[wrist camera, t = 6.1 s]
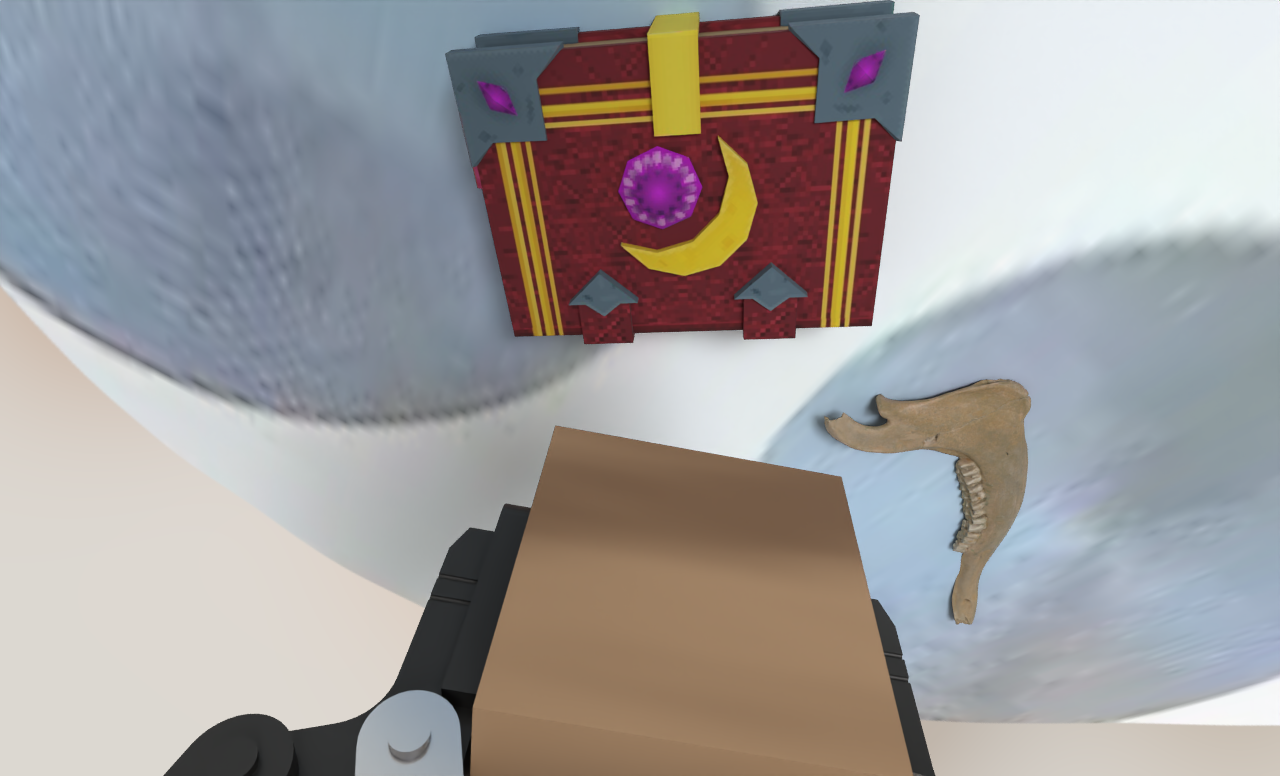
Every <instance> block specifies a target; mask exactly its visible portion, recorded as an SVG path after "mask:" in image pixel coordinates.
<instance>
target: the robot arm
mask: <svg viewBox="0 0 1280 776" xmlns="http://www.w3.org/2000/svg"><path fill="white" fill-rule="evenodd" d="M530 510H531V508H528V507H523V506H517V505H511V504H505V505H504V506H503V509H502V511H501V514H500V517H499V520H498V523H497V526H496V529H495V532H493V531H487V530H482V529H476V528H469V529H468V530H467V531H466V532H465V533H464V534H463V535H462V536H461V537H460V538H459V539H458V540H457V541H456V542H455V543H454V544H453V545H452V546H451V547H450V548H449V550H448V553H447V555H446V558H445V560H444V563H443V565H442V568H441V570H440V573H439V577H438V578H437V580H436V583H435V585H434V588H433V590H432V593H431V597H430V600H428V602H427V605H426V607H425V610H424V612H423V615H422V617H421V620H420V622H419V625H418V627H417V630H416V632H415V635H414V637H413V640H412V642H411V645H410V647H409V650H408V652H407V655H406V657H405V660H404V662H403V664H402V667H401V669H400V672H399V675H398V677H397V679H396V681H395V683H394V685H393V686H392V688H391V689H390V691H389V692H388V693H387V694H386V696H385V697H384V698H383V699H382V700H381V701H380V702H379V703H378V704H376V705H375V706H374V707H373V708H371V709H370V710H368V711H367V712H365V713H363V714H361V715H360V716H358V717H356V718H353V719H350V720H347V721H344V722H340V723H336V724H330V725H324V726H318V727H312V728H306V729H300V730H294V731H288V729H287V727H285V725H284V724H282V722H280V721H279V720H277V719H275V718H273V717H270V716H267V715H262V714H246V715H240V716H236V717H233V718H230V719H227V720H225V721H223V722H220V723H218V724H217V725H215V726H213V727H212V728H210V729H208V730H207V731H206V732H205V733H203V734H202V735H201V736H199V737H198V738H197V739H196V740H195V741H194V742H193V743H192V744H191V745H190V747H189V748H188V749H187V750H186V751H185V752H184V753H183V754H182V755H181V757H180V758H179V759H178V760H177V761H176V762H175V763H174V764H173V766H172V767H171V768H170V769H169V770H168V771H167V772H166V774H164V776H470V767H471V739H472V712H473V705H474V701H475V698H476V694H477V691H478V688H479V684H480V681H481V677H482V674H483V671H484V667H485V664H486V660H487V657H488V654H489V650H490V647H491V643H492V640H493V637H494V633H495V630H496V626H497V623H498V619H499V616H500V613H501V609H502V606H503V602H504V599H505V596H506V592H507V589H508V585H509V582H510V579H511V575H512V572H513V568H514V565H515V562H516V558H517V555H518V551H519V548H520V545H521V541H522V538H523V534H524V531H525V528H526V524H527V521H528V517H529V514H530ZM871 602H872V606H873V610H874V615H875V619H876V623H877V627H878V631H879V635H880V639H881V644H882V648H883V652H884V656H885V660H886V664H887V669H888V673H889V677H890V681H891V685H892V689H893V693H894V698H895V702H896V706H897V710H898V714H899V718H900V722H901V727H902V731H903V735H904V739H905V743H906V747H907V752H908V756H909V760H910V764H911V768H912V772H913V776H935V773H934V770H933V767H932V763H931V759H930V756H929V752H928V748H927V744H926V741H925V737H924V733H923V729H922V726H921V722H920V718H919V714H918V710H917V707H916V703H915V699H914V695H913V692H912V688H911V684H910V683H908V678H909V677H908V673H907V669H906V665H905V661H904V660H902V655H903V654H902V650H901V646H900V643H899V639H898V635H897V631H896V628H895V625H894V624H893V622H892V621H891V619H890V618H889V616H888V615H887V613H886V612H885V610H884V609H883V607H882V606H881V604H880V603H879V601H878V600H875V599H871Z"/></svg>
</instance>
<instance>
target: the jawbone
mask: <svg viewBox="0 0 1280 776" xmlns="http://www.w3.org/2000/svg"><path fill="white" fill-rule="evenodd" d="M1023 398H1024V399H1023ZM876 403H877V408H878V411H879V413H880V415H881V416H882V417H883V418H886V419H887V420H888V421H887V422H886V423H885V424H883V425H881V426H866V425H862V424H859V423H857V422H856V421H854V420H853V419H852V418H851V417H849V416H848V415H846V414H845V413H843V414H842V416H841V418H838V419H836V420H829V418H827V417H825V416H824V419H825V426H826V430H827V431H828V433H829V434H830V435H831V436H832V437H834V438H835V439H836V440H838V441H840V442H842V443H843V444H845V445H847V446H849V447H851V448H854V449H858V450H861V451H866V452H875V453H899V452H905V451H911V450H919V449H927V450H928V449H929V450H935V451H939V452H942V453H945V454H949V455H954V456H957V457H959V458H960V460H958V461H957V463H956V466H955V467H956V474H957V476H958V479H959V480H958V481H959V482H960V488H959V490H962V497H961V498H963V500H964V503H963V504H962V505H963V512H964V514H965V517H966V519H964V520H963V521H962V525H961V526H962V527H961V530H960V531H958V534H957V536H956V537H957V540H956V541H955V543H954V544H953V547H954V548H953V551H957V552H961V553H963V555H962V557H961V567H960V571H959V574H958V576H957V578H956V581H955V585H954V589H953V594H952V607H953V613H954V619H955V622H956V624H959V623H962V622H963V623H964V624H969V625H970V624H972V622H973V619H974V616H975V612H976V606H977V595H978V583H979V578H980V575H981V572H982V570H983V568H984V566H985V564H986V563H987V561H988V560H989V558H990V557H991V555H992V554H993V553H994V551H995V550H996V548H997V547H998V546H999V544H1000V543H1001V541H1002V540H1003V539H1004V537H1005V536H1006V534H1007V533H1008V531H1009V529H1010V528H1011V526H1012V524H1013V522H1014V520H1015V518H1016V516H1017V514H1018V512H1019V510H1020V507H1021V504H1022V501H1023V497H1024V493H1025V487H1026V479H1027V469H1028V453H1027V444H1026V440H1025V434H1024V418H1025V416H1026V415H1027V413H1028V412H1029V410H1030V407H1031V398H1030V397H1029V396H1028V392H1027V390H1026V389H1024V388H1023V386H1022V385H1021V384H1019V383H1017V382H1015V381H1012V380H1003V379H998V380H987V379H986V380H981V381H979V382H977V383H975V384H973V385H971V386H969V387H965V388H962V389H959V390H956V391H953V392H949V393H945V394H943V395H940V396H937V397H934V398H930V399H924V400H914V401H897V400H891V399H888V398H885V397H884V396H883V395H881V394H879V395H878V396H876ZM1007 453H1008V455H1007ZM980 516H981V517H980Z"/></svg>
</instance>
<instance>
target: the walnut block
mask: <svg viewBox="0 0 1280 776" xmlns="http://www.w3.org/2000/svg"><path fill="white" fill-rule="evenodd" d="M470 776H913V772H912V768H911V764H910V760H909V756H908V752H907V747H906V743H905V739H904V735H903V731H902V727H901V722H900V718H899V714H898V710H897V706H896V702H895V698H894V693H893V689H892V685H891V681H890V677H889V673H888V669H887V664H886V660H885V656H884V652H883V648H882V644H881V639H880V635H879V631H878V627H877V623H876V619H875V615H874V610H873V606H872V602H871V598H870V594H869V590H868V585H867V581H866V577H865V573H864V569H863V565H862V561H861V556H860V552H859V548H858V544H857V540H856V536H855V532H854V527H853V523H852V519H851V515H850V511H849V507H848V502H847V498H846V494H845V490H844V486H843V482H842V478H841V477H840V476H834V475H828V474H823V473H817V472H812V471H806V470H801V469H795V468H789V467H784V466H778V465H773V464H767V463H761V462H756V461H750V460H745V459H739V458H734V457H728V456H722V455H717V454H711V453H706V452H700V451H695V450H689V449H683V448H678V447H672V446H667V445H661V444H656V443H650V442H644V441H639V440H633V439H628V438H622V437H617V436H611V435H605V434H600V433H594V432H589V431H583V430H577V429H572V428H566V427H561V426H555V429H554V432H553V436H552V439H551V442H550V446H549V449H548V453H547V456H546V459H545V463H544V466H543V470H542V473H541V476H540V480H539V483H538V487H537V490H536V493H535V497H534V500H533V504H532V507H531V510H530V514H529V517H528V521H527V524H526V528H525V531H524V534H523V538H522V541H521V545H520V548H519V551H518V555H517V558H516V562H515V565H514V568H513V572H512V575H511V579H510V582H509V585H508V589H507V592H506V596H505V599H504V602H503V606H502V609H501V613H500V616H499V619H498V623H497V626H496V630H495V633H494V637H493V640H492V643H491V647H490V650H489V654H488V657H487V660H486V664H485V667H484V671H483V674H482V677H481V681H480V684H479V688H478V691H477V694H476V698H475V701H474V705H473V712H472V739H471V767H470Z"/></svg>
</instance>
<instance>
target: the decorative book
mask: <svg viewBox="0 0 1280 776" xmlns="http://www.w3.org/2000/svg"><path fill="white" fill-rule="evenodd" d="M894 3H895V2H893V1H891V0H884V1H873V2H862V3H851V4H840V5H829V6H819V7H808V8H797V9H786V10H779V11H780V15H778V16H766V17H754V18H742V19H730V20H718V21H706V22H700V20H699V12H694V13H682V14H671V15H659V16H656V17H655V19H654V21H653V23H652V25H651V26H646V27H634V28H622V29H610V30H598V31H586V32H579V27H573V28H560V29H547V30H534V31H521V32H508V33H495V34H482V35H478V36H476V37H475V42H476V47H477V48H472V49H460V50H451V51H449V52H448V53H446V54H445V55H446V60H447V64H448V68H449V72H450V77H451V81H452V85H453V89H454V94H455V98H456V102H457V106H458V111H459V115H460V119H461V123H462V128H463V132H464V136H465V140H466V145H467V149H468V153H469V157H470V162H471V166H472V167H473V170H474V175H475V179H476V183H477V188H480V189H482V191H483V195H484V200H485V204H486V209H487V213H488V218H489V222H490V227H491V231H492V236H493V240H494V245H495V249H496V254H497V258H498V263H499V267H500V272H501V276H502V281H503V285H504V290H505V294H506V299H507V303H508V308H509V312H510V317H511V321H512V326H513V330H514V335H515V337H519V336H552V335H583V338H584V344H605V343H633V341H634V335H635V333H652V332H686V331H719V330H743V337H744V340H746V339H782V338H795V334H796V328H819V327H852V326H872V320H873V312H874V305H875V297H876V289H877V282H878V274H879V266H880V259H881V251H882V243H883V236H884V228H885V220H886V213H887V205H888V197H889V190H890V182H891V174H892V167H893V159H894V151H895V144H896V141H901V142H902V135H903V128H904V121H905V114H906V107H907V100H908V93H909V86H910V79H911V72H912V65H913V58H914V51H915V44H916V37H917V30H918V23H919V16H920V15H918V14H916V13H915V12H909V13H898V14H893V11H894Z"/></svg>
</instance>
